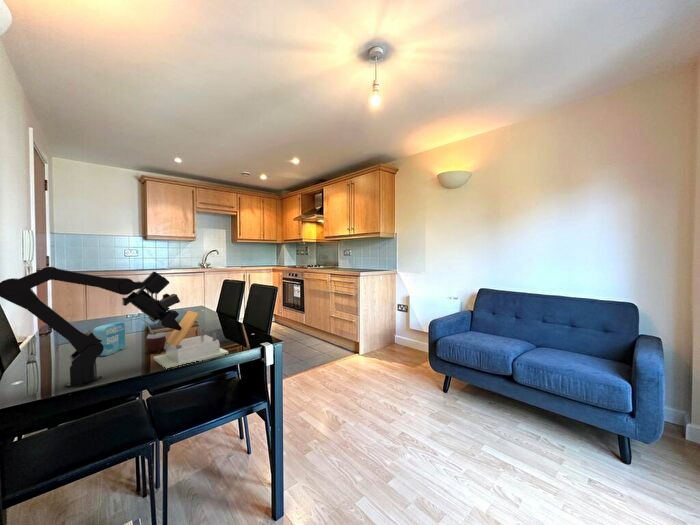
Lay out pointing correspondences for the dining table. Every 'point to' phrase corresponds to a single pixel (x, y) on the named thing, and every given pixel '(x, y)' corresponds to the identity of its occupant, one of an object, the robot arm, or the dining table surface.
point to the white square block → (193, 348)
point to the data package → (111, 337)
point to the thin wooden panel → (183, 328)
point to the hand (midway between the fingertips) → (180, 329)
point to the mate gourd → (155, 341)
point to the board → (169, 362)
